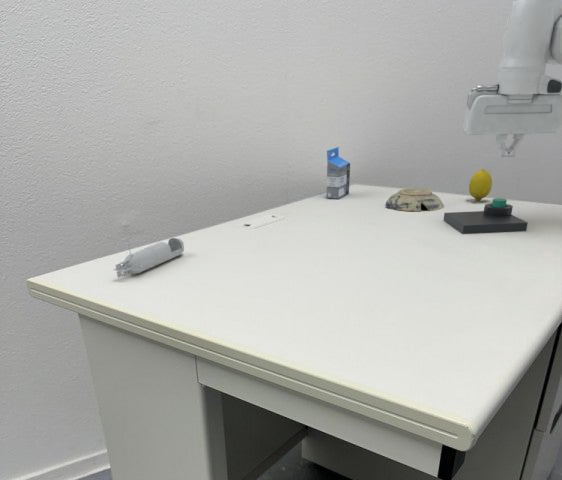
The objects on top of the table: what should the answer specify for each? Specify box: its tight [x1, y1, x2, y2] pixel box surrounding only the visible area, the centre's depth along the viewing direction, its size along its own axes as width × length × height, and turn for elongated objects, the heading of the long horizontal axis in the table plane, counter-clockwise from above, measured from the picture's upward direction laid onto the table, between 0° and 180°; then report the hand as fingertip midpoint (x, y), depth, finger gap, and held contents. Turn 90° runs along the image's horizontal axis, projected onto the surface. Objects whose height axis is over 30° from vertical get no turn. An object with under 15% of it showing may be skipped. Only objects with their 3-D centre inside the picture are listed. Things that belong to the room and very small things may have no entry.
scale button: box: [491, 197, 508, 208], centre depth 123 cm, size 3×3×2 cm
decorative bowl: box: [385, 187, 444, 213], centre depth 140 cm, size 15×4×15 cm
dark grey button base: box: [443, 202, 529, 235], centre depth 121 cm, size 14×12×4 cm
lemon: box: [468, 168, 493, 202], centre depth 142 cm, size 6×6×8 cm
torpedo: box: [113, 237, 185, 278], centre depth 100 cm, size 18×5×7 cm, turn 152°
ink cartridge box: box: [325, 146, 351, 200], centre depth 151 cm, size 9×4×12 cm, turn 155°
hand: (506, 156), depth 118 cm, fingers closed
